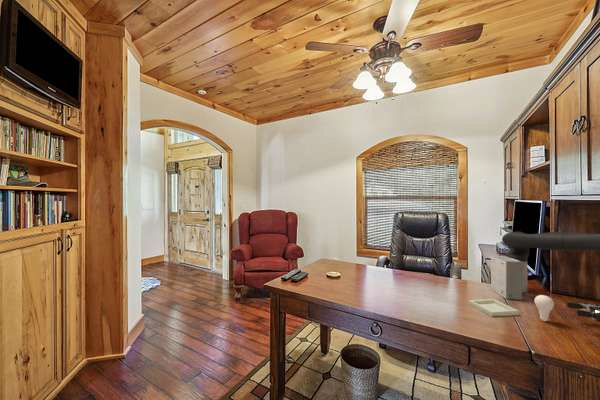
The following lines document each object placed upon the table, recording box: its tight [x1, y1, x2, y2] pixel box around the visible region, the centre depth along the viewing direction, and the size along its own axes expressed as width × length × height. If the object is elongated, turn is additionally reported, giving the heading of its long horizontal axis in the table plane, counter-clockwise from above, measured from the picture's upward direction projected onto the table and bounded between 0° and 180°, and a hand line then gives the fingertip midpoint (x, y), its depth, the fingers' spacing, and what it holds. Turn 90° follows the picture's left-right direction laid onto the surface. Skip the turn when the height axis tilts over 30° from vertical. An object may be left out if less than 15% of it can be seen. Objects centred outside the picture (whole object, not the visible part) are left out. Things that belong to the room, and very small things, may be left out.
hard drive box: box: [490, 254, 523, 301], centre depth 138 cm, size 16×8×20 cm, turn 168°
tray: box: [468, 298, 520, 318], centre depth 120 cm, size 13×13×2 cm
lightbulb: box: [534, 294, 555, 322], centre depth 108 cm, size 6×6×11 cm
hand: (571, 308), depth 105 cm, fingers open, 8 cm apart
